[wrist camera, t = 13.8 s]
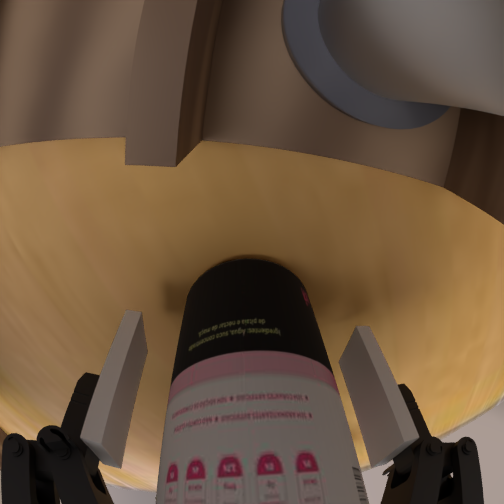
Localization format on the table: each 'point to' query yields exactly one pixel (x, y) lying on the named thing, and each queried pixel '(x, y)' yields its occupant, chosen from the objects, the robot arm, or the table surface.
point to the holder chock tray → (1, 443)
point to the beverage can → (254, 398)
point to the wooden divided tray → (210, 92)
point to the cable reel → (399, 56)
